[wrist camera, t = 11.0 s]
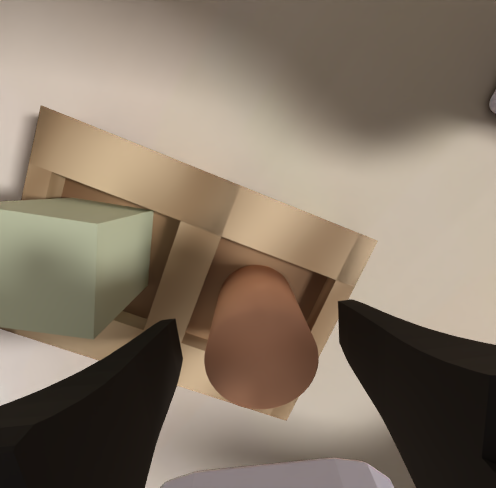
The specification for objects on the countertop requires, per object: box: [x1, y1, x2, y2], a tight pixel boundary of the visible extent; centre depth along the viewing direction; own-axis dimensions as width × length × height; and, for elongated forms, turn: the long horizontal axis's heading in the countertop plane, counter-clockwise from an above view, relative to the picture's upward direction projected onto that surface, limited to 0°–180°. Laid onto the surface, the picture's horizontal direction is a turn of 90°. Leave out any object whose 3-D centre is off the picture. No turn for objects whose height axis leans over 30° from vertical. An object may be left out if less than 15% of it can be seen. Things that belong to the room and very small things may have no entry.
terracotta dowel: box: [204, 265, 319, 409], centre depth 11 cm, size 4×4×5 cm
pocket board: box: [0, 106, 378, 421], centre depth 14 cm, size 16×11×2 cm
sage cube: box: [0, 198, 154, 340], centre depth 11 cm, size 4×4×5 cm
